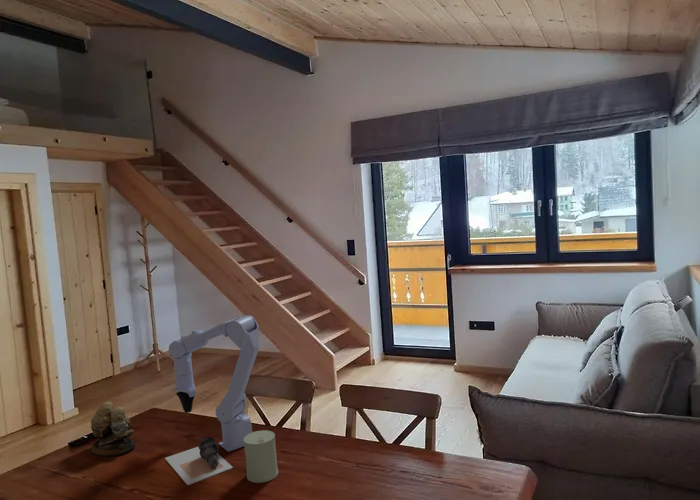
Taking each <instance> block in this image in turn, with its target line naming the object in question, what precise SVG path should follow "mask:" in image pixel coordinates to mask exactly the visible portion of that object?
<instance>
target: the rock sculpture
mask: <svg viewBox="0 0 700 500" xmlns="http://www.w3.org/2000/svg"><path fill="white" fill-rule="evenodd" d="M90 423H91V424H90V425H91V426H90V429H91V431H92V433H93V436H94V437H95V438H98V439H97V440H96V441H94V442H93V443H92V445H91V446H90V447H89V450H90V453H91V455H94V456H96V457H101V458H114V457H120V456H122V455H126V454H127V453H129V452H131V451H132V450H134V449H136V442H135V440H132V439H131V438H130V437H131V436H132V434H133V433H135V430H134V429H131V427H132V424H131V419H130V418H129V417H128V416H127V415H126V409H125V408H124V407H122V406H119V407H116V408H114V403H112V401H105V402H104V403H102V404H101V405H100V407H98V409H97V410H96V412H95V414H94V416H93V417H92V418H91V419H90Z"/></svg>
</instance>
